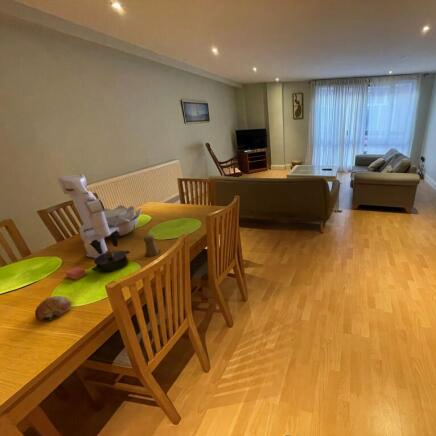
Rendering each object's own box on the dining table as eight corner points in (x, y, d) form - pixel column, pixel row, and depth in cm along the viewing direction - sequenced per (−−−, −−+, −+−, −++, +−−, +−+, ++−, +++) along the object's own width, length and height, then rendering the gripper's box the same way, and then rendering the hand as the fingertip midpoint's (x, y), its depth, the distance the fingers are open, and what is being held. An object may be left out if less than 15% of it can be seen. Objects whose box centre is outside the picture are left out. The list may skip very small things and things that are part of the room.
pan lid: (88, 263, 118) (84, 255, 116) (114, 250, 129) (111, 242, 128) (107, 268, 114) (104, 259, 112) (133, 254, 125) (130, 246, 124)
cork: (145, 256, 131) (140, 238, 127) (148, 251, 136) (143, 233, 132) (157, 255, 132) (153, 237, 128) (159, 249, 138) (155, 232, 134)
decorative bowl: (99, 250, 137) (91, 226, 132) (83, 236, 154) (75, 214, 148) (153, 232, 160) (148, 211, 154) (134, 221, 176) (129, 202, 171)
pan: (86, 273, 117) (83, 265, 115) (120, 255, 133) (118, 247, 131) (104, 277, 113) (102, 269, 112) (137, 258, 129) (135, 251, 127)
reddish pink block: (67, 277, 114) (65, 272, 113) (78, 272, 118) (75, 267, 116) (76, 279, 112) (74, 274, 111) (86, 274, 116) (84, 269, 115)
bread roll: (78, 312, 97) (78, 293, 98) (53, 322, 87) (54, 300, 88) (52, 313, 97) (53, 293, 98) (25, 323, 87) (26, 300, 87)
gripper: (89, 232, 107) (99, 258, 112) (120, 220, 120) (127, 244, 125) (79, 230, 109) (88, 255, 114) (110, 218, 122) (117, 242, 127)
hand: (108, 249), depth 119 cm, fingers open, 7 cm apart
